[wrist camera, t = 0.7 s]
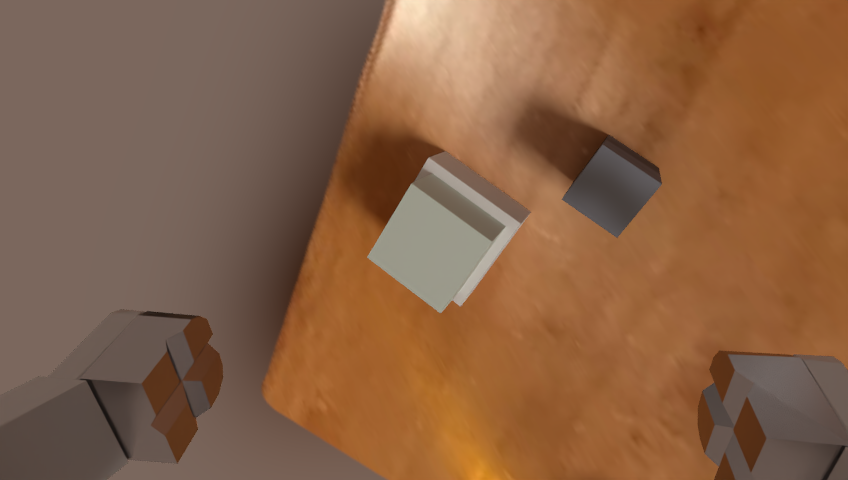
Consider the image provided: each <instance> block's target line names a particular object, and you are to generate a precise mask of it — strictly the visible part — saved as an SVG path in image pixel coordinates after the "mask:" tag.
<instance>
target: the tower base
mask: <svg viewBox="0 0 848 480" xmlns="http://www.w3.org/2000/svg"><path fill="white" fill-rule="evenodd" d="M431 174H434V175H435V176H437V177H438V178H440V179H441V180H442V181H444V182H445V183H447V184H448V185H449V186H451V187H452V188H453V189H455V190H456V191H458V192H459V193H460V194H462V195H463V196H465V197H466V198H467V199H469V200H470V201H472V202H473V203H474V204H476V205H477V206H478V207H480V208H481V209H483V210H484V211H485V212H487V213H488V214H490V215H491V216H492V217H494V218H495V219H497V220H498V221H499V222H501V223H502V224H503V225H505V226H506V227H505V228H504V230H503V231H502V233H501V234H500V235H499V237H498V238H497V240H496V241H495V242H494V244H493V245H492V247H491V248H490V249H489V251H488V252H487V254H486V255H485V256H484V258H483V259H482V261H481V262H480V263H479V265H478V266H477V268H476V269H475V270H474V272H473V273H472V275H471V276H470V277H469V279H468V280H467V281H466V283H465V284H464V286H463V287H462V288H461V290H460V291H459V293H458V294H457V295H456V296H455V297H454V299H453V301H454V302H455V303H457V304H458V305H459V306H461V305H462V304H463V303H464V301H465V300H466V299H467V298H468V296H469V295H470V294H471V293H472V292H473V290H474V289H475V288H476V286H477V285H478V284H479V282H480V281H481V279H482V278H483V277H484V275H485V274H486V273H487V271H488V270H489V269H490V267H491V266H492V264H493V263H494V262H495V260H496V259H497V258H498V256H499V255H500V254H501V252H502V251H503V250H504V248H505V247H506V245H507V244H508V243H509V241H510V240H511V239H512V237H513V236H514V235H515V233H516V232H517V230H518V229H519V228H520V226H521V225H522V224H523V222H524V221H525V220H526V218H527V217H528V215H529V214H530V213H531V212H530V211H529V210H528V209H526V208H525V207H523V206H522V205H521V204H519V203H518V202H516V201H515V200H514V199H512V198H511V197H509V196H508V195H507V194H505V193H504V192H502V191H501V190H500V189H498V188H497V187H495V186H494V185H493V184H491V183H490V182H488V181H487V180H486V179H484V178H483V177H481V176H480V175H479V174H477V173H476V172H474V171H473V170H471V169H470V168H469V167H467V166H466V165H464V164H463V163H462V162H460V161H459V160H457V159H456V158H455V157H453V156H452V155H450V154H449V153H448V152H446V151H445V152H442V153H439V154H437V155H434V156H431V157H429V158H428V159H427V161H426V163H425V164H424V166H423V168H422V169H421V171H420V173H419V174H418V176H417V178H416V179H415V181H417V180H420V179H422V178H424V177H426V176H428V175H431ZM415 181H414V182H415Z"/></svg>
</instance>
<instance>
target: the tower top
mask: <svg viewBox="0 0 848 480" xmlns="http://www.w3.org/2000/svg"><path fill="white" fill-rule="evenodd" d="M505 227H506V226H505V225H503V224H502V223H501V222H499V221H498V220H497V219H495V218H494V217H492V216H491V215H490V214H488V213H487V212H485V211H484V210H483V209H481V208H480V207H478V206H477V205H476V204H474V203H473V202H472V201H470V200H469V199H467V198H466V197H465V196H463V195H462V194H460V193H459V192H458V191H456V190H455V189H453V188H452V187H451V186H449V185H448V184H447V183H445V182H444V181H442V180H441V179H440V178H438V177H437V176H435V175H434V174H431V175H428V176H426V177H424V178H422V179H420V180H417V181H415V182H413V183H411V185H410V186H409V188H408V190H407V192H406V193H405V195H404V197H403V198H402V200H401V202H400V203H399V205H398V207H397V208H396V210H395V212H394V213H393V215H392V217H391V218H390V220H389V222H388V223H387V225H386V227H385V228H384V230H383V232H382V233H381V235H380V237H379V238H378V240H377V242H376V244H375V245H374V247H373V249H372V250H371V252H370V254H369V255H368V257H367V258H369V259H370V260H371V261H373V262H374V263H375V264H377V265H378V266H379V267H380V268H382V269H383V270H384V271H386V272H387V273H388V274H390V275H391V276H392V277H394V278H395V279H396V280H397V281H399V282H400V283H401V284H403V285H404V286H405V287H407V288H408V289H409V290H411V291H412V292H413V293H415V294H416V295H417V296H418V297H420V298H421V299H422V300H424V301H425V302H426V303H428V304H429V305H430V306H432V307H433V308H434V309H435V310H437V311H438V312H439V313H442V311H443V310H444V309H445V308H446V307H447V306H448V304H449V303H450V302H451V301H452V300H453V299H454V297H455V296H456V295H457V294H458V293H459V291H460V290H461V288H462V287H463V286H464V284H465V283H466V281H467V280H468V279H469V277H470V276H471V275H472V273H473V272H474V270H475V269H476V268H477V266H478V265H479V263H480V262H481V261H482V259H483V258H484V256H485V255H486V254H487V252H488V251H489V249H490V248H491V247H492V245H493V244H494V242H495V241H496V240H497V238H498V237H499V235H500V234H501V233H502V231H503V230H504V228H505Z"/></svg>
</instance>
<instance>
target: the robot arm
mask: <svg viewBox="0 0 848 480" xmlns="http://www.w3.org/2000/svg"><path fill="white" fill-rule="evenodd" d="M212 335H213V333H212V331H211V328H210V325H209V323H208V320H207V319H206V318H203V317H201V316H195V315H184V314H173V313H163V312H151V311H147V312H144V311H134V310H124V309H120V310H118V311H115V312H112V313H110V314H109V315H108V316H107V317H106V318H105V319H104V320H103V321H102V322H101V324H99V325H98V326H97V327H96V328H95V329H94V330H93V331H92V332H91V333H90V334H89V335H88V337H86V338H85V339H84V341H82V342H81V343H80V345H79V346H77V348H76V349H75V350H74V351H73V352H72V353H71V354H70V355H69V356H68V357H67V358H66V359H65V360H64V361H63V362H62V363H61V364H60V365H59V366H58V367H57V368H56V369H55V370H54V371H53V372H52V373H51V374H50V375H49V376H48V377H39V376H38V377H36V378H34V379H32V380H30V381H28V382H26V383H24V384H22V385H20V386H18V387H16V388H14V389H12V390H10V391H8V392H6V393H4V394H2V395H0V480H107V479H108V478H110V477H111V476H112V475H113V474H115V473H116V472H117V471H119V470H120V469H121V468H122V467H124V466H125V465H126V464H127V463H128V460H138V461H151V462H163V463H178V462H179V460H180V458H181V457H182V455H183V453H184V452H185V450H186V448H187V446H188V445H189V443H190V442H191V440H192V438H193V437H194V435H195V433H196V432H197V430H198V427H197V421H196V417H198V416H199V415H201V414H202V413H204V412H205V411H207V410H208V409H210V408H211V407H212V405H213V403H214V401H215V400H216V398H217V396H218V394H219V391H220V387H221V383H222V379H223V365H222V361H221V358H220V355H219V353H218V352H217V351H216V350H215V349H214V348H213V347H211V346H210V345H209V344H208V342H209V340H210V338H211V336H212ZM709 370H710V373H711V375H712V378H713V380H714V383H713V384H712V385H710V386H709V387H707V388H706V389H704V390H703V391H702V394H701V397H700V401H699V405H698V430H699V436H700V440H701V444H702V447H703V450H704V453H705V454H706V455H707V456H708V457H709V458H710V459H711V460H712V461H713V462H714V463H715V464H717V465H718V466H719V468H718V471H717V473H716V476H715V479H714V480H848V370H847V369H846V368H845V366H844V365H843V363H842V362H841V361H839V360H838V359H836V358H834V357H833V356H814V355H795V354H794V355H786V354H770V353H753V352H736V351H718V353H717V354H716V355H715V356H714V357H713V360H712V363H711V366H710V369H709Z"/></svg>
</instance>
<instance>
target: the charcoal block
mask: <svg viewBox="0 0 848 480" xmlns="http://www.w3.org/2000/svg"><path fill="white" fill-rule="evenodd" d="M661 184H662V182H661V177H660V172H659V168H658V167H657V166H655V165H654V164H652V163H651V162H649V161H648V160H646V159H645V158H643V157H642V156H640V155H639V154H637V153H636V152H634V151H633V150H631V149H630V148H628V147H627V146H625V145H624V144H622V143H621V142H619V141H617V140H616V139H614V138H613V137H611V136H610V135H608V136H607V138H606V139H605V141H604V142H603V143H602V145H601V146H600V147H599V149H598V150H597V151H596V153H595V154H594V155H593V157H592V158H591V159H590V161H589V162H588V163H587V165H586V166H585V167H584V169H583V170H582V171H581V173H580V174H579V175H578V177H577V178H576V179H575V181H574V182H573V184H572V185H571V187H570V188H569V189H568V191H567V192H566V194H565V195H564V197H563V198H562V200H563V201H565V202H566V203H568V204H569V205H571V206H572V207H574V208H575V209H576V210H578V211H579V212H581V213H582V214H584V215H585V216H587V217H588V218H589V219H591V220H592V221H594V222H595V223H597V224H598V225H599V226H601V227H602V228H604V229H605V230H607V231H608V232H610V233H611V234H612V235H614V236H615V237H618V236H619V235H620V234H621V233H622V231H623V230H624V229H625V228H626V227H627V225H628V224H629V223H630V222H631V221H632V219H633V218H634V217H635V216H636V215H637V213H638V212H639V211H640V210H641V208H642V207H643V206H644V205H645V204H646V202H647V201H648V200H649V199H650V198H651V196H652V195H653V194H654V193H655V192H656V190H657V189H658V188H659V187H660V186H661Z"/></svg>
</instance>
